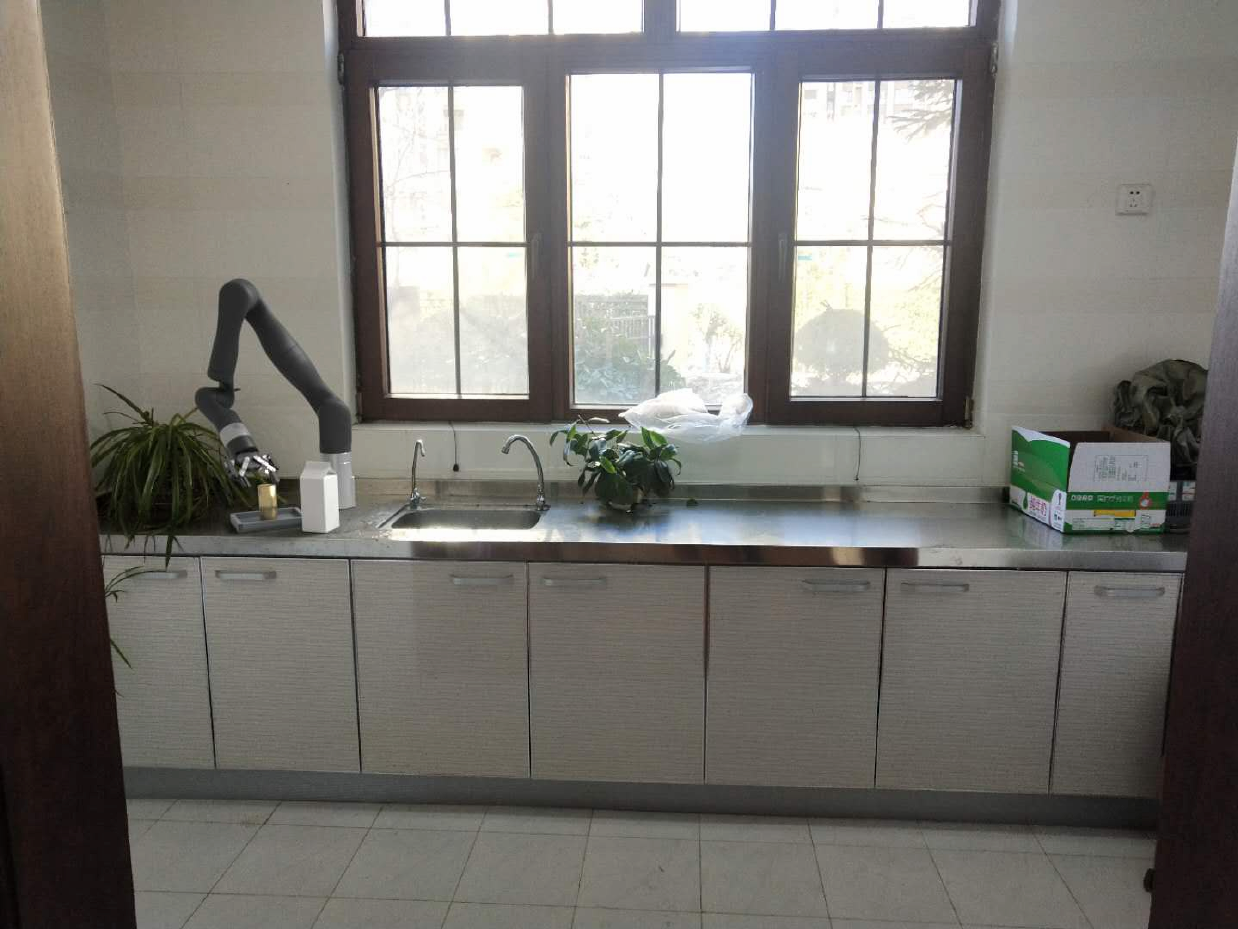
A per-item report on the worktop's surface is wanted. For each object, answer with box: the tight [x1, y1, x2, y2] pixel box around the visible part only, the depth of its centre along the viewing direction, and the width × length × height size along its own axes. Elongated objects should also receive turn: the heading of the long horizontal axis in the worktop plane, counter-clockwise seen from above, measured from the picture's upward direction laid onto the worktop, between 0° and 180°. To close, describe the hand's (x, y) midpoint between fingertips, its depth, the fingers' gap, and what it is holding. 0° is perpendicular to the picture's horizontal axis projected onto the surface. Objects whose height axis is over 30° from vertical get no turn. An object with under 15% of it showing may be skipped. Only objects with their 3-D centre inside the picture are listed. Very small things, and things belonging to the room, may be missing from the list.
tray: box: [229, 506, 302, 534], centre depth 238 cm, size 18×14×2 cm
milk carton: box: [299, 460, 340, 534], centre depth 232 cm, size 7×7×19 cm
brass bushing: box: [257, 483, 278, 521], centre depth 237 cm, size 5×5×10 cm
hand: (263, 486), depth 238 cm, fingers open, 8 cm apart
